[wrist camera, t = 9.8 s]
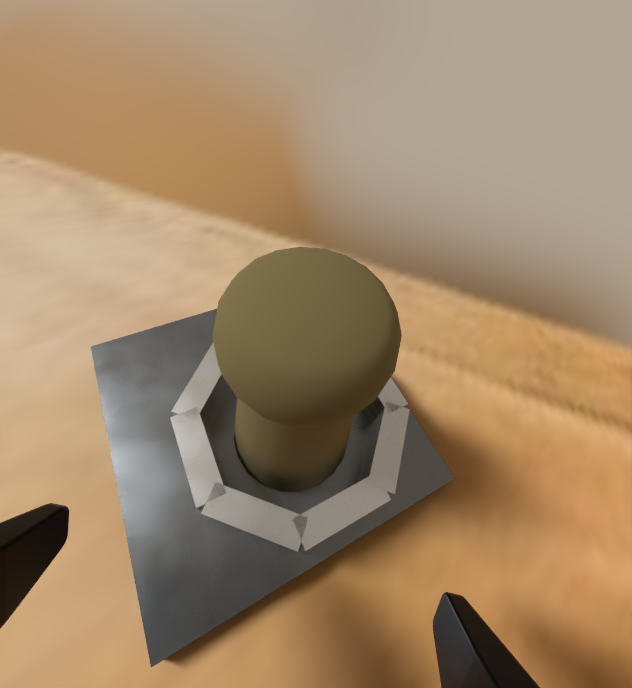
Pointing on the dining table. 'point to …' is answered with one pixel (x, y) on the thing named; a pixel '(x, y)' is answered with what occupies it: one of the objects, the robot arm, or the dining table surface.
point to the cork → (302, 360)
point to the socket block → (233, 484)
